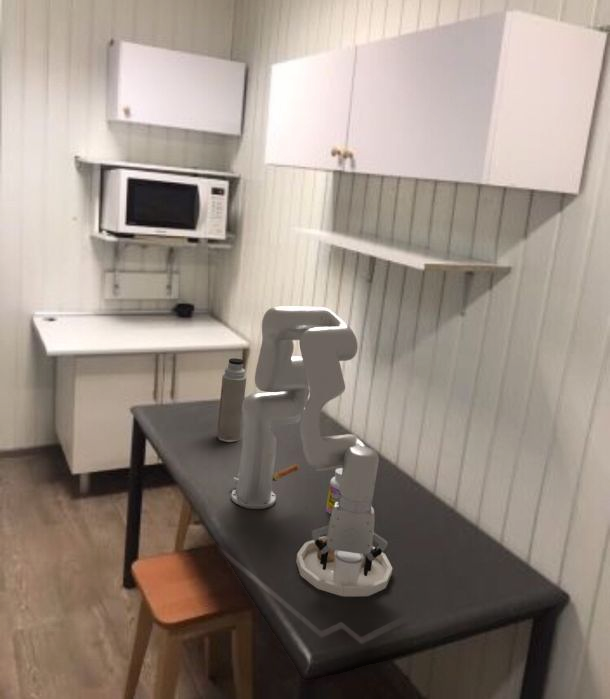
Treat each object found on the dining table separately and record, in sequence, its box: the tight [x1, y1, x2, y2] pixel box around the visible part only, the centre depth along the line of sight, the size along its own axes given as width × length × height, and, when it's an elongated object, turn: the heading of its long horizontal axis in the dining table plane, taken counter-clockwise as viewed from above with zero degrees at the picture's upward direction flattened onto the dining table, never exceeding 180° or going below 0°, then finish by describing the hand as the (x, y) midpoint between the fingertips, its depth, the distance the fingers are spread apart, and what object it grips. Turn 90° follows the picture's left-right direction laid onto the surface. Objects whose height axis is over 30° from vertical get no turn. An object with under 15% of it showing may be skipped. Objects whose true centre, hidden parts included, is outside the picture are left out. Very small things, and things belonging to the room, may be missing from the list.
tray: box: [295, 536, 393, 598], centre depth 163 cm, size 22×22×3 cm
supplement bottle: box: [325, 468, 343, 515], centre depth 190 cm, size 7×7×13 cm
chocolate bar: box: [273, 463, 300, 480], centre depth 213 cm, size 3×12×2 cm, turn 146°
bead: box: [317, 536, 336, 562], centre depth 167 cm, size 5×5×4 cm
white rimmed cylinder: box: [333, 550, 364, 586], centre depth 157 cm, size 7×7×7 cm
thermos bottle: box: [216, 357, 247, 440], centre depth 232 cm, size 8×8×28 cm
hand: (344, 569), depth 157 cm, fingers open, 9 cm apart
